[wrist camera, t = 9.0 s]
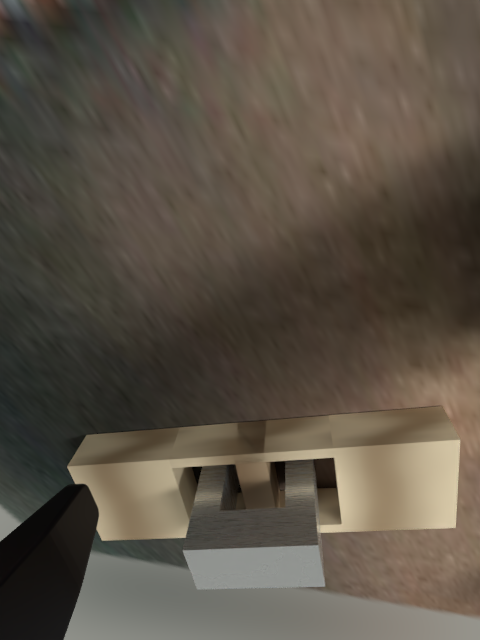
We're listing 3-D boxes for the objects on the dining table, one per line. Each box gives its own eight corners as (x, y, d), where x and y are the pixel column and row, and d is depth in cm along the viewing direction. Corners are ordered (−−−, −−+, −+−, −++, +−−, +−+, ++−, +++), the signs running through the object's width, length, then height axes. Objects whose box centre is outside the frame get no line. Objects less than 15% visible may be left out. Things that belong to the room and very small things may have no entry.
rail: (442, 405, 22) (460, 439, 20) (440, 489, 24) (455, 527, 22) (86, 435, 25) (67, 466, 23) (116, 505, 28) (102, 540, 25)
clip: (310, 438, 24) (318, 545, 18) (315, 475, 25) (325, 586, 19) (206, 447, 25) (182, 550, 19) (216, 481, 26) (197, 589, 20)
